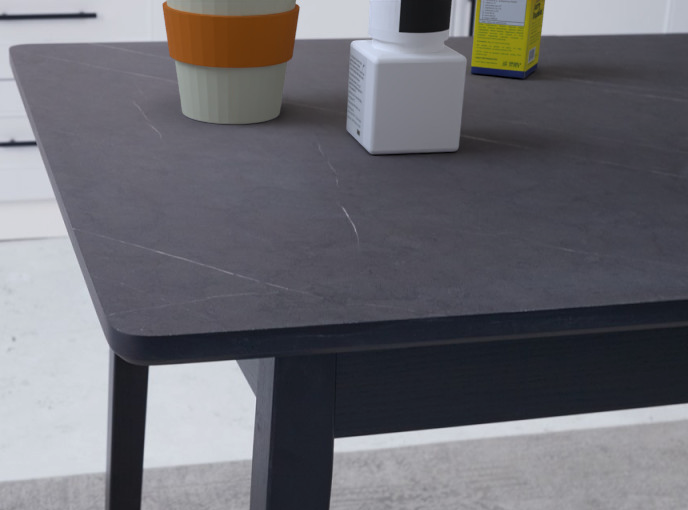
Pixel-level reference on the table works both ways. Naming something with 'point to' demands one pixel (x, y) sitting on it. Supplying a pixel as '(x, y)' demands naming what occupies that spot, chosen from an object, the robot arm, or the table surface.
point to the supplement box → (507, 37)
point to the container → (406, 80)
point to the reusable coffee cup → (231, 56)
